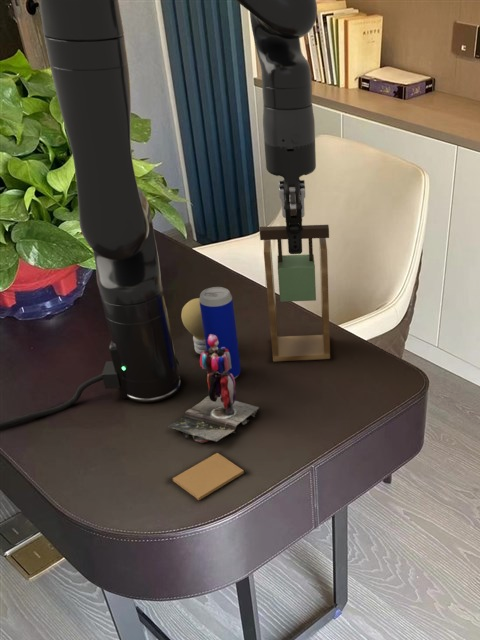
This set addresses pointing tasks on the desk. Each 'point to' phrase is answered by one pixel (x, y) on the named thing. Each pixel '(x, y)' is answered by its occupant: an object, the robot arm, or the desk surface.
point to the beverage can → (220, 322)
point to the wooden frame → (299, 345)
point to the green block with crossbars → (296, 263)
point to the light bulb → (194, 324)
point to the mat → (208, 476)
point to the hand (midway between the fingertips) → (295, 250)
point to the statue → (215, 400)
